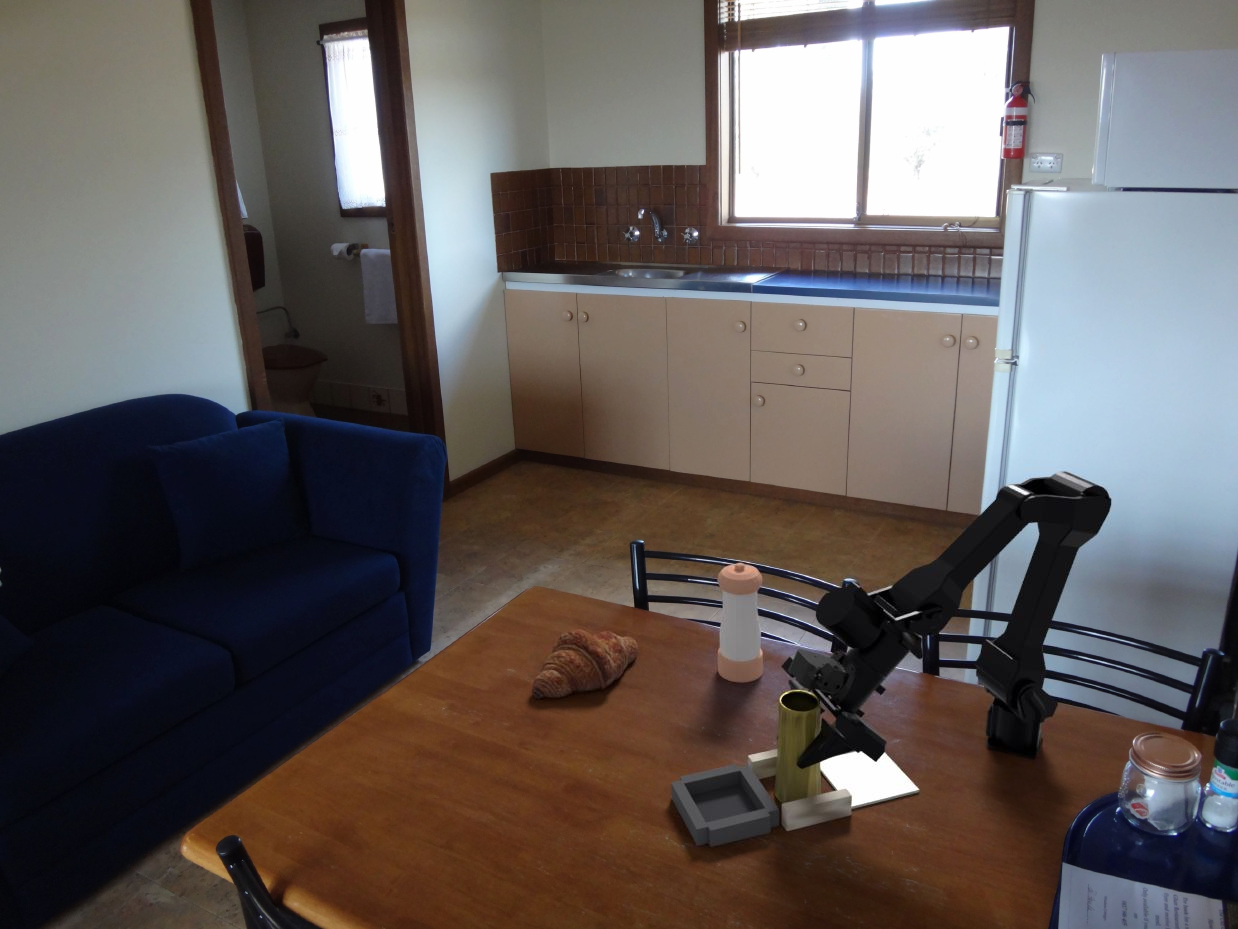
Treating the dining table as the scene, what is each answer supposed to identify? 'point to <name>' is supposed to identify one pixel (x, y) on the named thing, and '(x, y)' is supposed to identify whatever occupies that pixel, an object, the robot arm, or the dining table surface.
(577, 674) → the pastry
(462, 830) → the dining table surface
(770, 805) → the tray
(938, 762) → the dining table surface
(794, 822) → the channel
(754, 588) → the salt shaker
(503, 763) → the dining table surface
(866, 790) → the pad
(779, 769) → the vase
